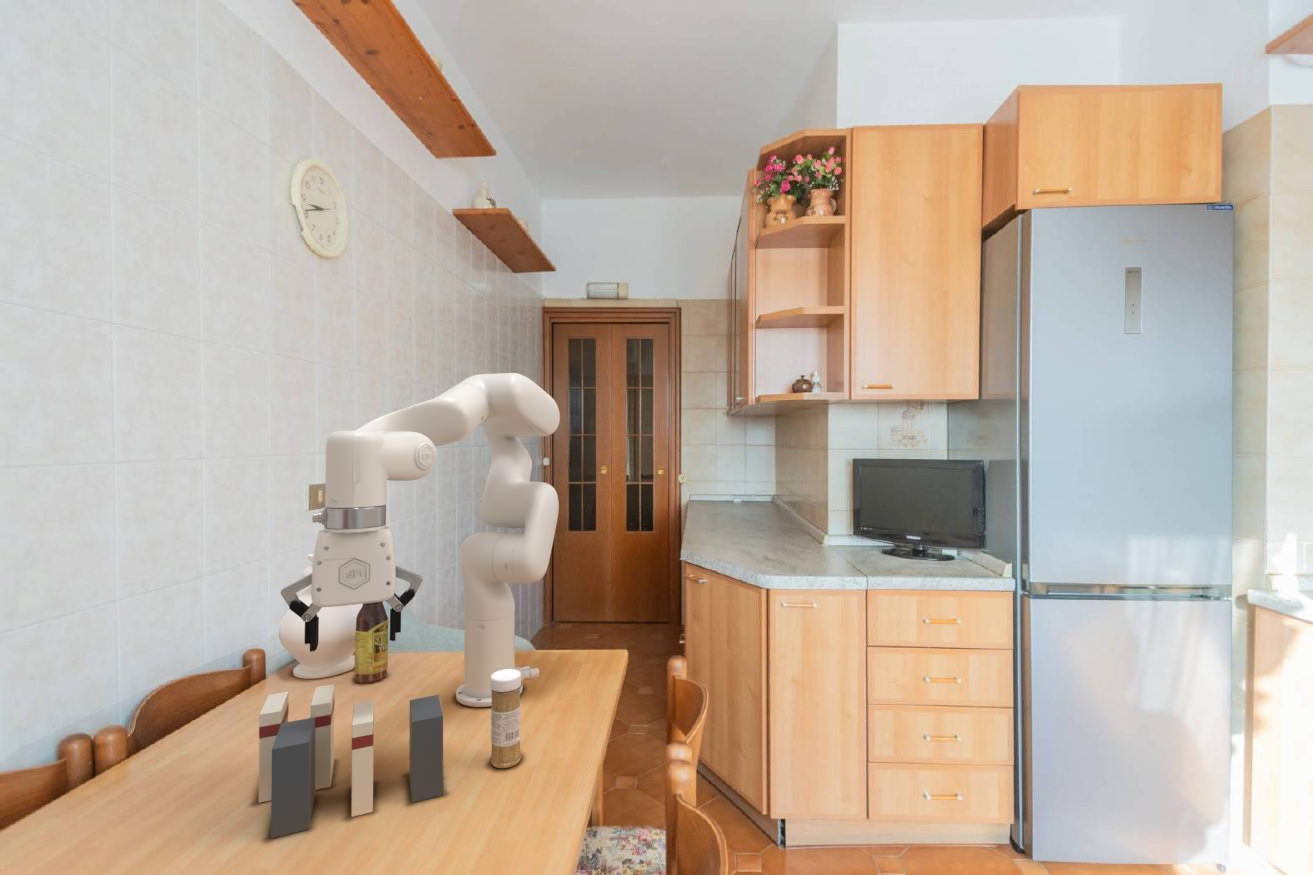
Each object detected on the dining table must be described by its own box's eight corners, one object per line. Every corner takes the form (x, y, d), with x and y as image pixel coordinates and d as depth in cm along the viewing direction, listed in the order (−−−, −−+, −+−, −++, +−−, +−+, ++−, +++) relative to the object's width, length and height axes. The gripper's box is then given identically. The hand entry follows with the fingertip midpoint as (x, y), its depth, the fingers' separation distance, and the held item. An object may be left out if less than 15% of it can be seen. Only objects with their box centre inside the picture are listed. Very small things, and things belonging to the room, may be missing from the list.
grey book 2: (438, 767, 86) (438, 694, 86) (443, 795, 79) (443, 715, 79) (409, 774, 84) (409, 699, 84) (411, 803, 77) (412, 721, 77)
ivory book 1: (288, 772, 85) (288, 691, 85) (280, 798, 78) (281, 710, 79) (267, 776, 84) (268, 694, 84) (258, 803, 77) (259, 714, 78)
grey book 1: (314, 796, 79) (315, 716, 79) (308, 829, 72) (309, 741, 72) (280, 804, 77) (281, 722, 77) (270, 839, 70) (271, 749, 70)
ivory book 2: (334, 762, 87) (334, 683, 88) (330, 786, 81) (331, 701, 81) (315, 766, 86) (315, 686, 86) (309, 791, 80) (310, 705, 80)
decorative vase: (290, 658, 131) (291, 549, 131) (375, 648, 137) (376, 544, 137) (267, 689, 114) (268, 564, 115) (366, 676, 120) (367, 557, 121)
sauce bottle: (378, 684, 116) (378, 586, 117) (348, 684, 116) (348, 586, 117) (393, 671, 123) (394, 579, 123) (365, 671, 123) (365, 579, 123)
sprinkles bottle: (517, 750, 90) (517, 665, 91) (523, 765, 86) (524, 676, 87) (487, 757, 88) (488, 670, 89) (493, 772, 84) (493, 681, 85)
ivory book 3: (373, 783, 82) (373, 699, 82) (372, 812, 75) (373, 720, 76) (353, 788, 81) (353, 703, 81) (351, 817, 74) (351, 724, 74)
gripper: (277, 525, 72) (275, 662, 72) (424, 518, 80) (423, 642, 79) (287, 519, 79) (284, 644, 78) (421, 513, 86) (420, 627, 86)
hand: (354, 643), depth 79 cm, fingers open, 9 cm apart
